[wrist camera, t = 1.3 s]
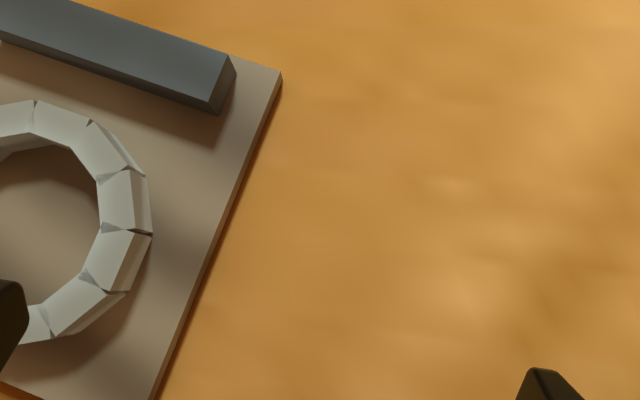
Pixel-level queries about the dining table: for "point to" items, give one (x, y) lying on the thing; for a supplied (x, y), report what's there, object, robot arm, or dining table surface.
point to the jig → (113, 189)
